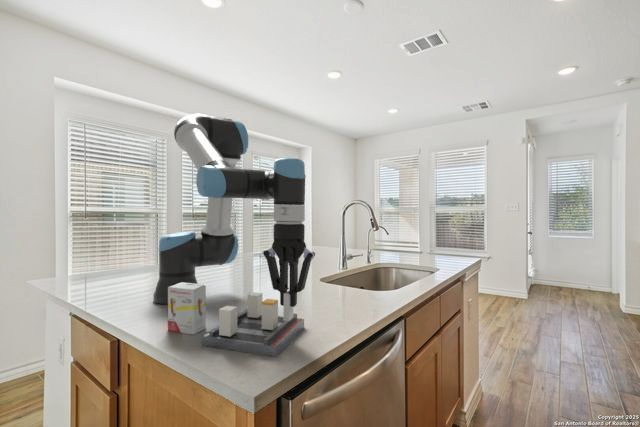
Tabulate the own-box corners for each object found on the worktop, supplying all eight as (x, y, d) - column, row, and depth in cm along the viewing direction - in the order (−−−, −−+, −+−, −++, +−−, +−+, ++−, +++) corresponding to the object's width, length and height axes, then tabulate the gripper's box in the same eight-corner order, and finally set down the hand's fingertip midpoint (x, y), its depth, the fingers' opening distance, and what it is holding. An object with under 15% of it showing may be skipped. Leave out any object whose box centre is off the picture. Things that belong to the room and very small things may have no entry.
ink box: (166, 331, 83) (166, 286, 83) (180, 324, 87) (180, 281, 87) (193, 335, 80) (193, 288, 80) (206, 328, 85) (206, 284, 85)
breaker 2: (247, 316, 86) (247, 294, 86) (252, 313, 89) (252, 292, 89) (257, 318, 86) (257, 295, 85) (262, 314, 88) (262, 293, 88)
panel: (201, 345, 74) (201, 330, 74) (242, 319, 91) (242, 307, 91) (276, 357, 69) (276, 341, 69) (304, 327, 86) (304, 314, 86)
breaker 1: (219, 335, 74) (219, 309, 74) (226, 330, 77) (226, 305, 77) (230, 336, 73) (230, 310, 73) (237, 331, 76) (237, 306, 76)
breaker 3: (261, 328, 78) (261, 302, 78) (267, 324, 81) (267, 298, 81) (272, 330, 77) (272, 303, 77) (277, 325, 80) (278, 299, 80)
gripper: (257, 222, 75) (257, 321, 76) (309, 224, 72) (308, 327, 72) (271, 221, 83) (270, 311, 83) (319, 222, 79) (318, 316, 79)
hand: (288, 318), depth 78 cm, fingers closed
